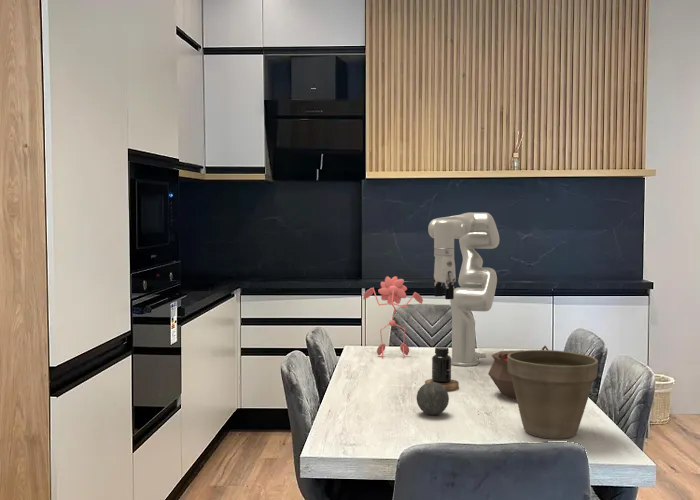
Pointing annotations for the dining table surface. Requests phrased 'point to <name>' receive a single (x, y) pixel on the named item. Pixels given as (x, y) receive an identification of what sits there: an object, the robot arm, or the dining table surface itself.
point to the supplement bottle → (441, 365)
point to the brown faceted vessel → (503, 374)
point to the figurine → (391, 293)
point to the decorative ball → (432, 398)
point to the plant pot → (551, 390)
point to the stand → (448, 385)
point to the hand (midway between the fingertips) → (444, 297)
